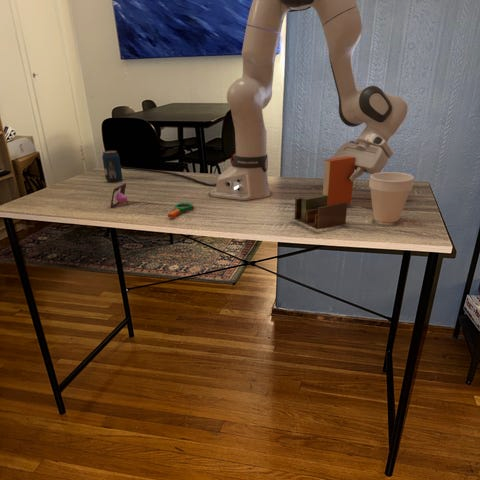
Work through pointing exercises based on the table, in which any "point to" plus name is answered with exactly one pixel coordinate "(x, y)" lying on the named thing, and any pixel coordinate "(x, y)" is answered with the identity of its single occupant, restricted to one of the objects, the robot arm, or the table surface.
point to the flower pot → (389, 194)
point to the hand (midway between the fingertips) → (344, 178)
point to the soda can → (112, 166)
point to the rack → (319, 211)
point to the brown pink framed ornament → (119, 195)
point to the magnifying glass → (180, 209)
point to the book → (338, 179)
